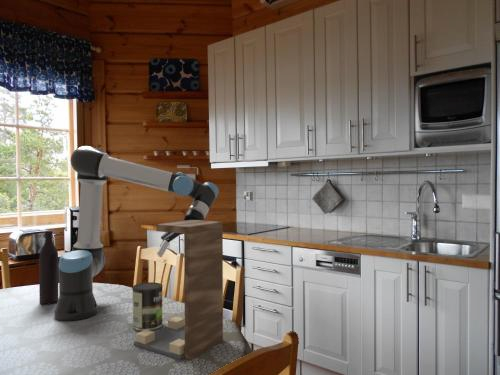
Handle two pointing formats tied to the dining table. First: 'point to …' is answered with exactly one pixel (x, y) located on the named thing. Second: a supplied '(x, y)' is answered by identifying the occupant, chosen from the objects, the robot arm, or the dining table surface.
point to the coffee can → (147, 306)
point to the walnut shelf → (201, 282)
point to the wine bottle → (48, 271)
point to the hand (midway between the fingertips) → (171, 257)
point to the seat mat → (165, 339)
